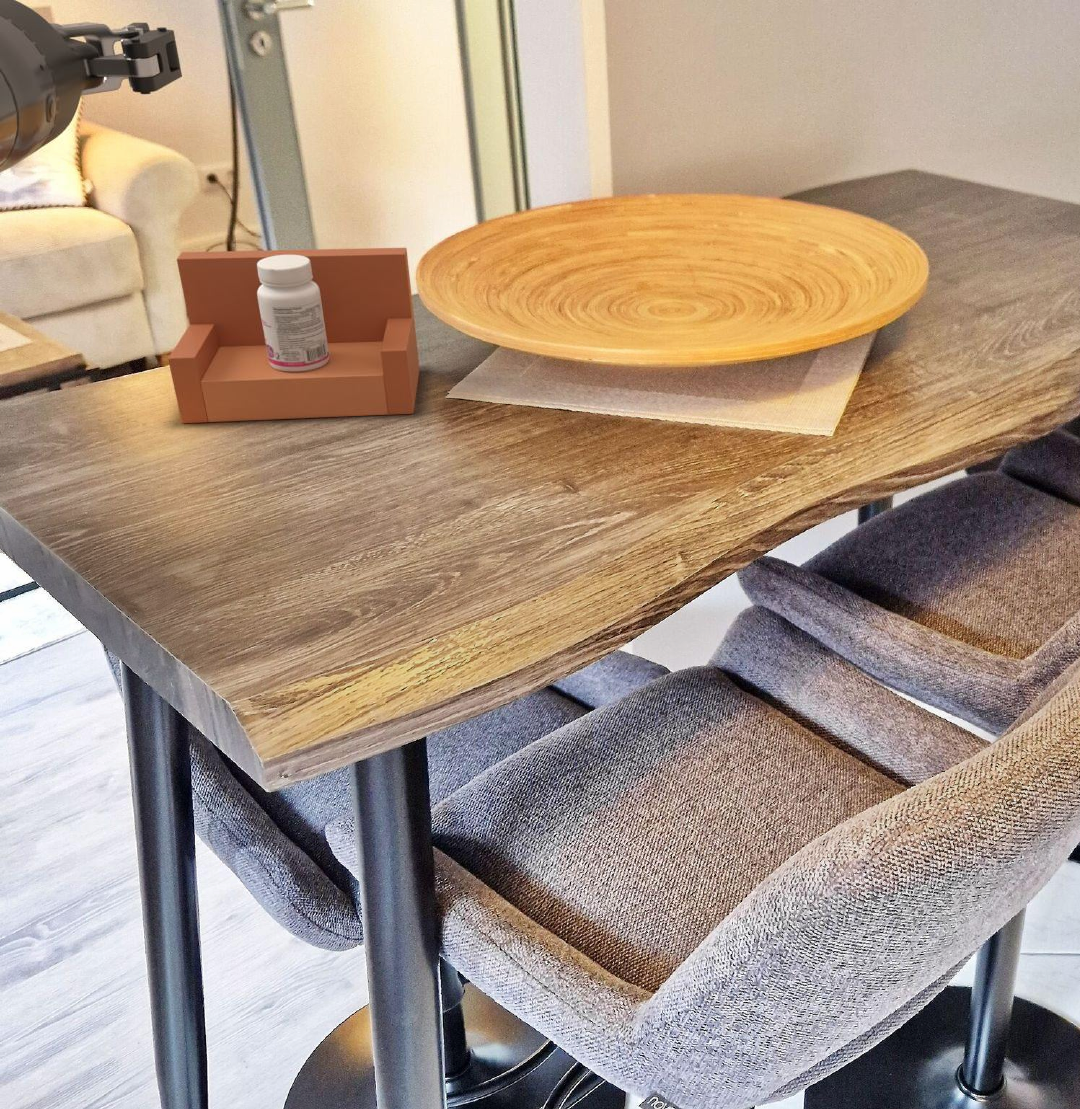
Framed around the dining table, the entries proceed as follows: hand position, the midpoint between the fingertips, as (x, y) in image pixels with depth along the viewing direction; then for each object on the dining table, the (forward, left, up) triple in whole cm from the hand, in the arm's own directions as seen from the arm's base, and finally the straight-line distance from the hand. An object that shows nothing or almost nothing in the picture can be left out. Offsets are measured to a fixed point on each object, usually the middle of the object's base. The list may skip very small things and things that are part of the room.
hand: (68, 41), depth 72 cm
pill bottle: (+7, +16, -27) cm, 32 cm away
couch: (+7, +18, -30) cm, 36 cm away
